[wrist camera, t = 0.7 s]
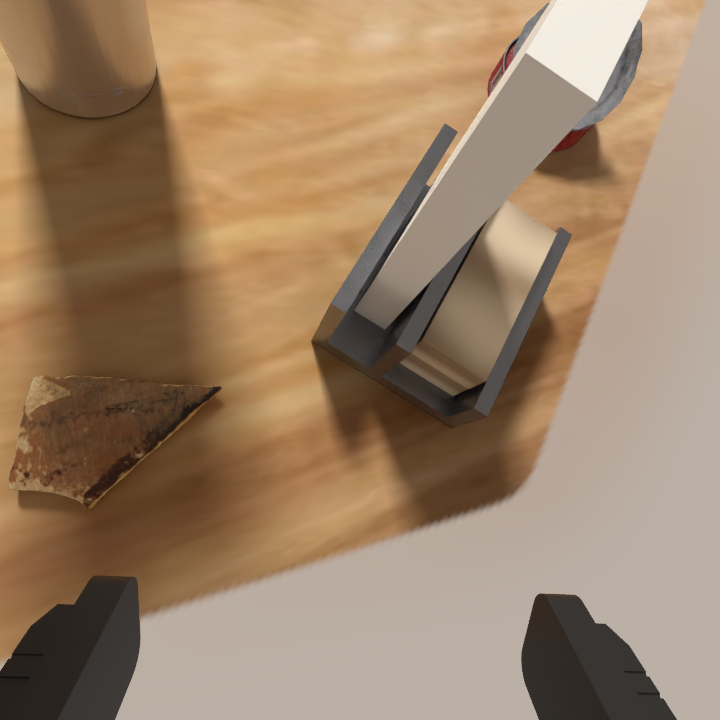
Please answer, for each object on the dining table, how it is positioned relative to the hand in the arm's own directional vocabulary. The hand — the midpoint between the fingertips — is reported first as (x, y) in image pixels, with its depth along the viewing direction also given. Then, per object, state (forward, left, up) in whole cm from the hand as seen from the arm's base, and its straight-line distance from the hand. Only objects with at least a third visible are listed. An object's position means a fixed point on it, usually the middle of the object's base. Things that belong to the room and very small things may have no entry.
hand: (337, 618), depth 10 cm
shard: (-10, -8, -24) cm, 27 cm away
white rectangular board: (-15, +13, -21) cm, 29 cm away
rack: (-13, +15, -23) cm, 30 cm away
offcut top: (-11, +17, -19) cm, 28 cm away
